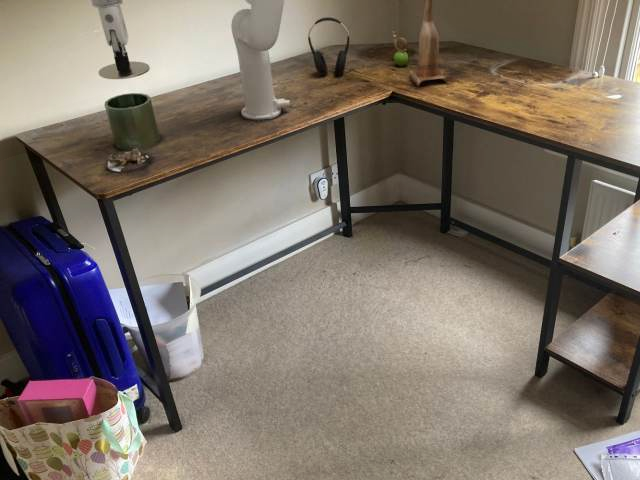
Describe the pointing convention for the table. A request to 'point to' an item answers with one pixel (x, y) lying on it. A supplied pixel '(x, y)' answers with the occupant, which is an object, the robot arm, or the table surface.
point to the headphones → (319, 58)
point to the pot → (132, 120)
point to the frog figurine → (124, 159)
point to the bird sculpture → (427, 50)
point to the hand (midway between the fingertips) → (124, 68)
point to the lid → (134, 71)
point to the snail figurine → (400, 51)
